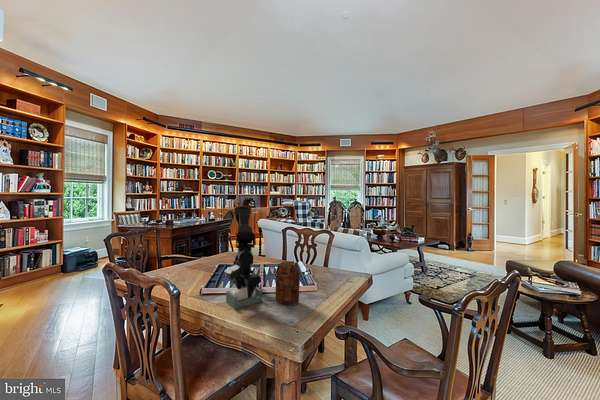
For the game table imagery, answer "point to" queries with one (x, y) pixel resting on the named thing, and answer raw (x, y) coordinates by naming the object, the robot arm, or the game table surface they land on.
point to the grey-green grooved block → (232, 300)
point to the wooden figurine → (287, 283)
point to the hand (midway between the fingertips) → (244, 294)
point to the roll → (242, 294)
